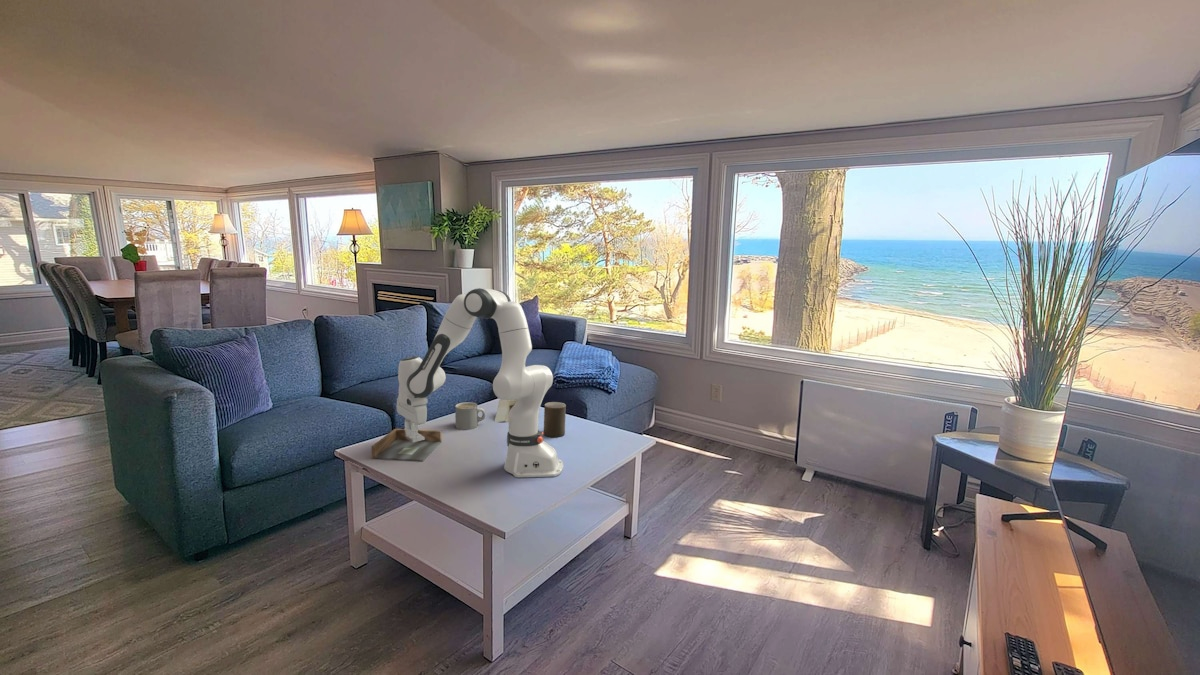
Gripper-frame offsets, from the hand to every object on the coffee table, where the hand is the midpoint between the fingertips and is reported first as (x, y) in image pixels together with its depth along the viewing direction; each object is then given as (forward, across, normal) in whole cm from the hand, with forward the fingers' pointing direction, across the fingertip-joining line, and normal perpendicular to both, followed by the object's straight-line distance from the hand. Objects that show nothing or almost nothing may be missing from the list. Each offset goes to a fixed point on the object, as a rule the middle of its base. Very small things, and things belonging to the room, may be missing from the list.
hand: (411, 429), depth 203 cm
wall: (+9, -6, +54) cm, 55 cm away
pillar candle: (+9, +23, +56) cm, 61 cm away
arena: (+8, 0, -2) cm, 9 cm away
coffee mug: (+9, -9, +32) cm, 34 cm away
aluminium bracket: (+3, +3, 0) cm, 4 cm away
